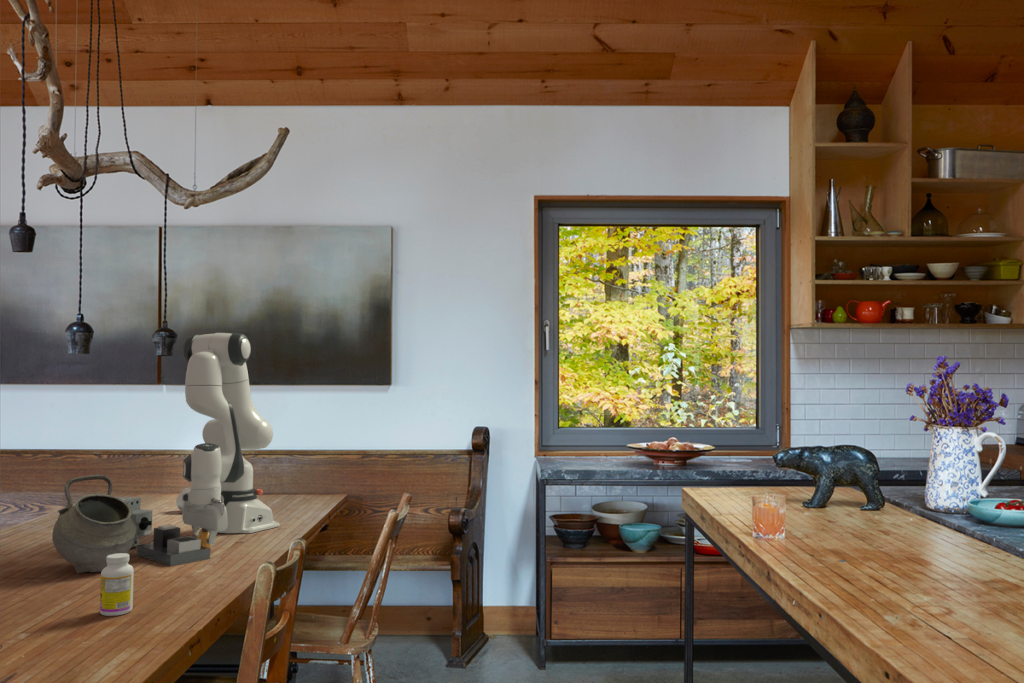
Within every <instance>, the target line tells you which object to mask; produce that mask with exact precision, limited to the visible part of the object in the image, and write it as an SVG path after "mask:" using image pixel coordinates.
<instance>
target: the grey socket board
mask: <svg viewBox="0 0 1024 683" xmlns="http://www.w3.org/2000/svg"><path fill="white" fill-rule="evenodd" d="M152 540H153V541H152V542H148V543H141V544H139V545H137V546H136V556H137V555H138V557H140V556H141V558H144V559H147V560H150V561H153V562H156V563H159V564H163V565H165V566H168V567H173V566H179V565H183V564H184V565H185V564H189V563H190V564H191V563H194V562H199V561H205V560H210V559H211V551H210V548H207V547H204V546H201V539H198V538H194V536H190V535H187V536H182V537H181V527H179V526H176V528H174V529H167V530H162V529H158V527H154V528H153V538H152Z"/></svg>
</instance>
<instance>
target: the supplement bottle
mask: <svg viewBox="0 0 1024 683" xmlns="http://www.w3.org/2000/svg"><path fill="white" fill-rule="evenodd" d="M129 561H130V553H128V552H127V553H118V554H111V555H108V556H107V557H106V562H107V567H105V568H104V569H103V570H102V571H100V572H101V573H100V596H99V598H100V599H99V613H100V614H101V615H102V616H105V617H117V616H122V615H126V614H127V613H130V612H131V611H132V610H133V608H134V607H133V605H134V604H133V603H134V572H135V570H134V567H133V566H132V565H131V564H129Z"/></svg>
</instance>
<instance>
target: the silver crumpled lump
mask: <svg viewBox="0 0 1024 683" xmlns="http://www.w3.org/2000/svg"><path fill="white" fill-rule="evenodd" d="M190 488H191V486H188V487H185V488H183V489H182V491H181V492H179V494H178V495H177V497H176V500H175V501H176V502H175V504H176V507H177V508H178V509H179V510H180V512H182V509H183V503H184V501H182V495H183V494H185V493H187V492H189V491H190Z"/></svg>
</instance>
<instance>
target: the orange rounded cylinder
mask: <svg viewBox="0 0 1024 683" xmlns="http://www.w3.org/2000/svg"><path fill="white" fill-rule="evenodd" d="M209 534H210V533H209V530H207V529H203V528H201V530H200V531H199V539H201V546H204V547H207V548H210V552H211V550H212V544H211V545H210V544H207V538H208V537H209Z"/></svg>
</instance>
